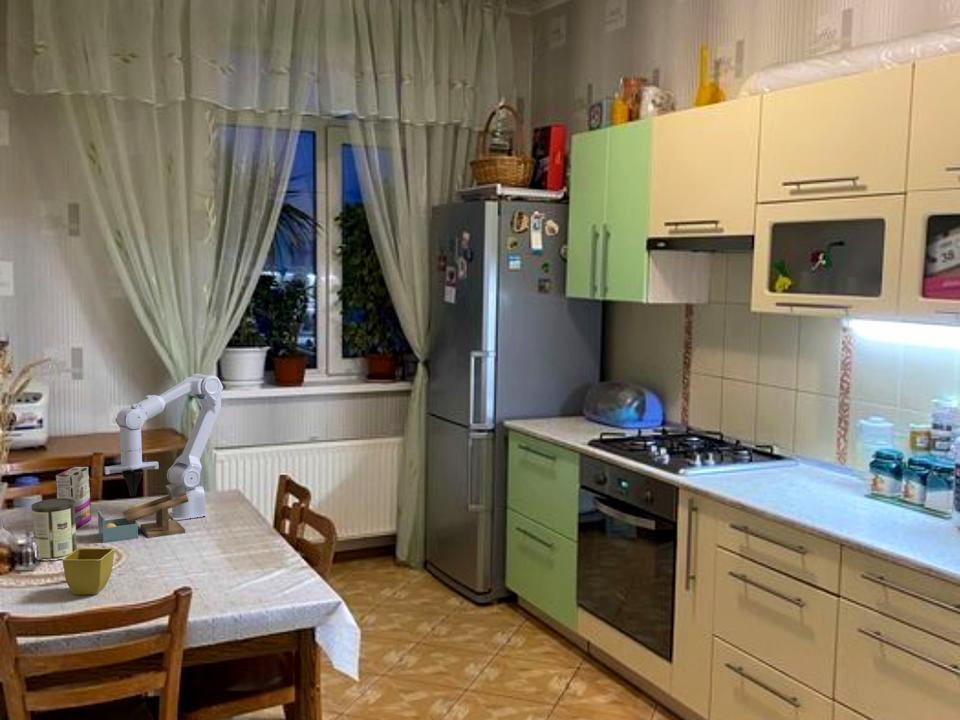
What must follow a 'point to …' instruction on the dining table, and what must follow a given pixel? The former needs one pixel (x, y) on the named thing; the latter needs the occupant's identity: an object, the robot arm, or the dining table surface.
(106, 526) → the ball
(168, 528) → the chute stand
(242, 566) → the dining table surface
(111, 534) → the blue open bin
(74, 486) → the candy bar box
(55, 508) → the coffee can
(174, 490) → the tipping chute
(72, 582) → the flower pot
